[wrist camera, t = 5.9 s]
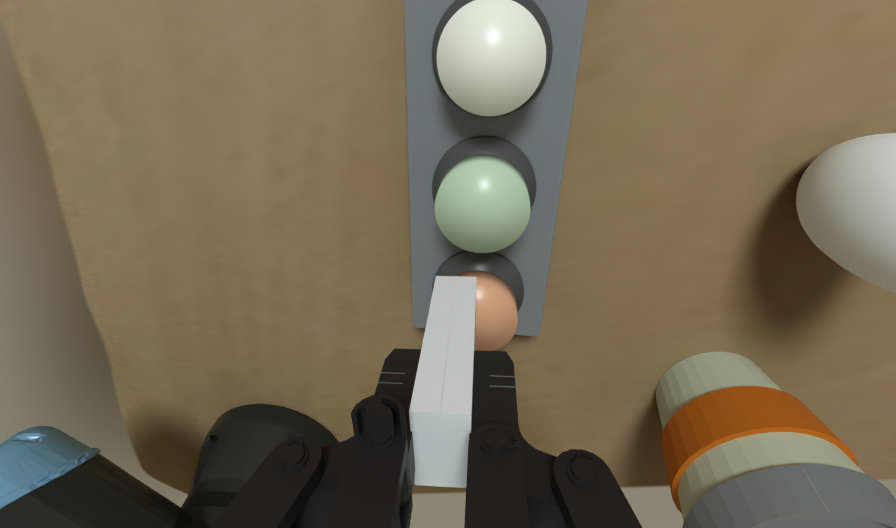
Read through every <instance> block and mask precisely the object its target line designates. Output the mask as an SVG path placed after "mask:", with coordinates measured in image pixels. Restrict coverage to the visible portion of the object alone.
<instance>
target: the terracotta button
mask: <svg viewBox="0 0 896 528" xmlns="http://www.w3.org/2000/svg"><path fill="white" fill-rule="evenodd" d="M455 276H460V277H477V285H476V342H475V350H477V351H495V350H497V349H499V348H501V347H503V346H504V345H506V344H507V343H508V342H509V341H510V340H511V339H512V337H513V336H514V334H515V332H516V329H517V324H518V317H517V303H516V297H515V294H514V292H513V290H512V288H511V287H510V285H509V284H508V283H507V282H506V281H505V280H503V279H502V278H501V277H499V276H497V275H495V274H493V273H490V272H486V271H479V270H472V271H466V272H462V273H459V274H457V275H455Z"/></svg>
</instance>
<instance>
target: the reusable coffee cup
mask: <svg viewBox="0 0 896 528" xmlns="http://www.w3.org/2000/svg"><path fill="white" fill-rule="evenodd" d="M655 395H656V402H657V406H658V411H659V415H660V419H661V424H662V428H663V432H662V438H661V446H662V452H663V457H664V461H665V466H666V470H667V475H668V480H669V484H670V489H671V493H672V498H673V500H674V502H675V505H676V507H677V509H678V510H679V511H680V512H681V513H682V515H683V520H684V524H683V528H896V500H895V498H894V497H893V495H892V494H891V492H890V491H889V490H888V489H887V488H886V487H885V486H884V485H883V484H881V483H880V482H879V481H878V480H876V479H874V478H872V477H870V476H868V475H866V474H865V473H864V472H863V471H862V470H861V469H860V468H859V467H858V462H857V459H856V458H855V456H854V454H853V453H852V451H851V450H850V449H849V448H848V447H847V446H846V445H845V444H844V443H843V442H842V441H841V440H840V439H839V438H838V437H837V436H836V435H835V434H834V433H833V432H832V431H831V430H830V429H829V428H828V427H827V426H826V425H825V424H823V423H822V422H821V421H820V420H819V419H818V418H817V417H816V416H815V415H814V414H813V413H812V412H811V411H810V410H809V409H808V408H807V407H806V406H805V405H804V404H803V403H802V402H801V401H799V400H798V399H797V398H796V397H794V396H792V395H790V394H788V393H786V392H784V391H782V390H781V389H780V388H779V387H778V386H777V385H776V384H775V383H774V382H773V381H772V380H771V379H770V378H769V377H768V376H767V375H766V374H765V373H764V372H763V371H762V370H761V369H760V368H759V367H758V366H757V365H756V364H755V363H753V362H752V361H751V360H749V359H748V358H746V357H744V356H741V355H738V354H735V353H729V352H708V353H701V354H698V355H694V356H691V357H689V358H686V359H684V360H682V361H680V362H678V363H677V364H675V365H674V366H672V367H671V368H670V369H669V370H668V371H667V372H666V373H665V374H664V375H663V376H662V378H661V379H660V381H659V383H658V385H657V388H656V394H655Z"/></svg>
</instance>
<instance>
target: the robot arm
mask: <svg viewBox="0 0 896 528" xmlns="http://www.w3.org/2000/svg"><path fill="white" fill-rule="evenodd" d="M476 285H477V277H460V276H436V278H435V283H434V288H433V293H432V298H431V303H430V308H429V313H428V318H427V323H426V329H425V334H424V339H423V344H422V349H421V350H420V349H394V350H393V351H392V352H391V353H390V354H389V355H388V357H387V358H386V359H385V361H384V365H383V368H382V373H381V375H380V378H379V383H378V385H377V388H376V391H375V395H373V396H370V397H368V398H365V399H363V400H362V401H360V402H359V403H358V404H357V405H355V407H354V409H353V410H352V412H351V417H352V423H353V429H354V435H355V436H353V437H351V438H349V439H348V440H345V441H342V442H339V443H338V442H337V440H336V439H335V438H334V437H333V435H332V434H331V433H330V432H329V431H327V430H326V429H325V428H324V427H323V426H321V425H320V424H319V423H317V422H316V421H314V420H312V419H311V418H309V417H307V416H305V415H303V414H301V413H298V412H296V411H293V410H290V409H287V408H283V407H279V406H274V405H265V404H252V405H244V406H240V407H236V408H233V409H231V410H229V411H227V412H225V413H224V414H223V415H222V416H220V417H219V418H218V420H217V421H216V422H215V424H214V425H213V427H212V428H211V430H210V431H209V433H208V434H207V436H206V437H205V439H204V442H203V444H202V447H201V451H200V455H199V458H198V462H197V466H196V469H195V473H194V476H193V480H192V484H191V487H190V491H189V494H188V497H187V499H186V500H185V502H184V504H183V506H182V507H181V508H180V507H178V506H177V505H176V504H175V503H173V502H171V501H170V500H168V499H167V498H165V497H164V496H162V495H160V494H159V493H157V492H156V491H154V490H153V489H151V488H150V487H148V486H147V485H145V484H143V483H142V482H140V481H139V480H137V479H136V478H134V477H133V476H131V475H130V474H128V473H127V472H125V471H124V470H122V469H121V468H120V467H118V466H117V465H115V464H114V463H112V462H111V461H109V460H108V459H106V458H105V457H103V456H102V455H100V454H99V452H101V451H100V450H99V449H98V448H90V447H88V446H87V445H85V444H83V443H82V442H80V441H78V440H76V439H75V438H73V437H71V436H69V435H68V434H66V433H64V432H62V431H61V430H59V429H56V428H53V427H49V426H36V427H32V428H28V429H25V430H23V431H21V432H18V433H17V434H15V435H14V436H12V437H10V438H9V439H7V440H6V441H5V442H3V443H2V444H0V528H409V526H410V519H411V512H412V487H413V480H414V481H415V485H423V486H440V487H457V488H466V507H465V528H642V526H641V525H640V523H639V521H638V519H637V517H636V516H635V514H634V512H633V510H632V508H631V506H630V505H629V503H628V501H627V499H626V498H625V496H624V494H623V492H622V490H621V488H620V486H619V485H618V483H617V481H616V479H615V477H614V476H613V474H612V472H611V470H610V468H609V467H608V466H607V465H606V463H605V462H604V461H603V460H602V459H601V458H599V457H598V456H596V455H595V454H593V453H591V452H588V451H585V450H576V449H571V450H568V451H565V452H562V453H561V454H560V455H559V456H558V457H556V456H553V455H550V454H547V453H544V452H542V451H539V450H537V449H535V448H534V447H532V446H531V445H530V444H528V443H527V442H526V440H525V439H524V438H523V437H522V435H521V433H520V430H519V426H518V413H517V401H516V388H515V378H514V376H515V375H514V363H513V361H512V360H511V358H510V357H509V355H508V354H507V352H505V351H477V350H475V342H476Z"/></svg>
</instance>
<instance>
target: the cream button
mask: <svg viewBox="0 0 896 528" xmlns="http://www.w3.org/2000/svg"><path fill="white" fill-rule="evenodd" d="M545 64H546V44H545V39H544V36H543V33H542V30H541V28H540V26H539V24H538V22H537V21H536V19H535V18H534V16H533V15H532V14H531V13H530V12H529V11H528V10H527V9H526V8H525V7H523V6H522V5H520V4H519V3H517V2H515V1H513V0H474V1H472V2H470V3H468V4H466V5H465V6H463V7H462V8H461V9H459V10H458V11H457V12H456V13H455V14H454V15H453V16H452V17H451V19H450V20H449V21H448V23H447V24H446V26H445V28H444V30H443V32H442V34H441V37H440V40H439V43H438V48H437V69H438V74H439V78H440V81H441V83H442V85H443V88H444V89H445V91H446V93H447V94H448V95H449V97H450V98H451V99H452V100H453V101H454V102H455V103H456V104H457V105H458V106H460V107H461V108H462V109H464V110H466V111H468V112H470V113H473V114H476V115H480V116H498V115H503V114H506V113H509V112H511V111H513V110H515V109H517V108H518V107H520V106H521V105H522V104H524V103H525V102H526V101H527V100H528V99H529V98H530V97H531V96H532V94H533V93H534V92H535V90H536V89H537V87H538V85H539V83H540V81H541V79H542V76H543V73H544V70H545Z"/></svg>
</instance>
